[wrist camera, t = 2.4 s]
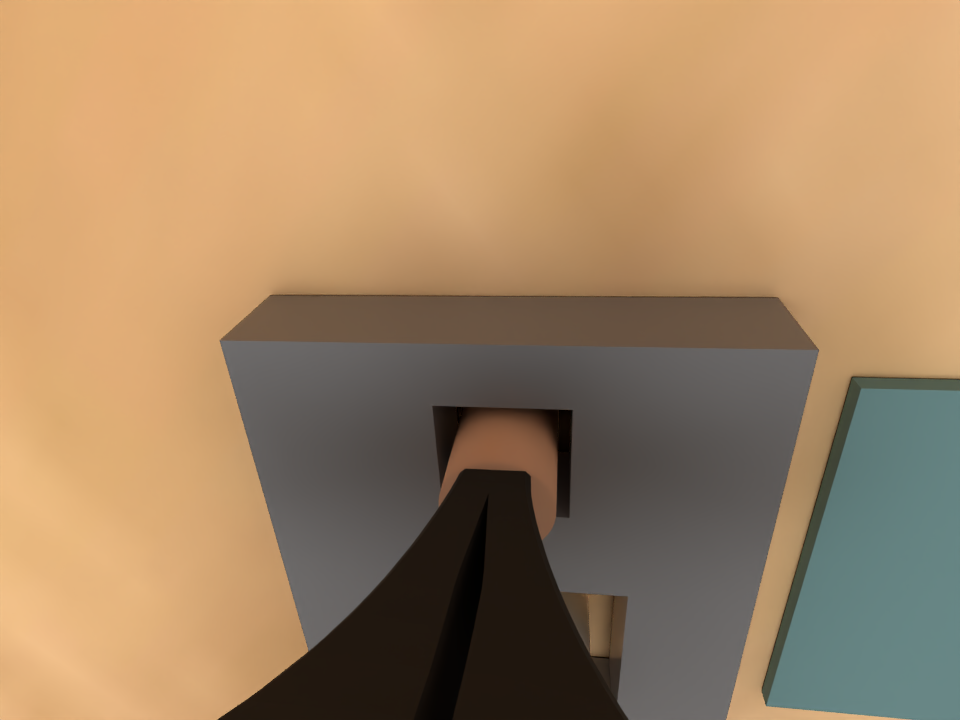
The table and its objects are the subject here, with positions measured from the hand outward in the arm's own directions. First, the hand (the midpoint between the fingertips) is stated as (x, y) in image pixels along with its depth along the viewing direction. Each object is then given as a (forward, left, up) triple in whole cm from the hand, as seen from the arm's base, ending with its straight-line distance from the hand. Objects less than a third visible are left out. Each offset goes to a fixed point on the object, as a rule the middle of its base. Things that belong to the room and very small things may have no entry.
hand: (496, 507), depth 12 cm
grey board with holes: (-5, 0, -4) cm, 6 cm away
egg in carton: (0, 0, -3) cm, 3 cm away
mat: (-5, -12, -4) cm, 14 cm away
